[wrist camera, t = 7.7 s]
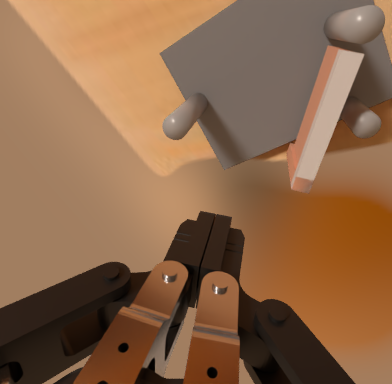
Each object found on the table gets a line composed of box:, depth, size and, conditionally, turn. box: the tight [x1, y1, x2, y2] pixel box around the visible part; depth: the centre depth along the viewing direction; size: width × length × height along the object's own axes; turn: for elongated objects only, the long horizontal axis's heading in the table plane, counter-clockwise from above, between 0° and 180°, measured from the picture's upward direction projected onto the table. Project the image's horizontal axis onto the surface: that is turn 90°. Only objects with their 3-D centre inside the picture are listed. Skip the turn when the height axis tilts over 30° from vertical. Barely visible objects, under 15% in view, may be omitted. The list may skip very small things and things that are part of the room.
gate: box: [287, 45, 364, 193], centre depth 25 cm, size 10×1×8 cm, turn 170°
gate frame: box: [160, 0, 392, 170], centre depth 24 cm, size 18×14×10 cm
